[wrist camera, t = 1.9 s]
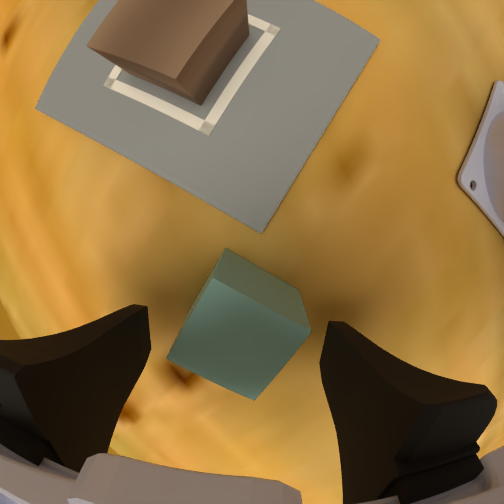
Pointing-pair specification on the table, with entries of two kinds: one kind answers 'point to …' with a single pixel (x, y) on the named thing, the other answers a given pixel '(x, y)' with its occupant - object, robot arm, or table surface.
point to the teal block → (241, 327)
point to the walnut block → (174, 41)
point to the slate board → (221, 106)
